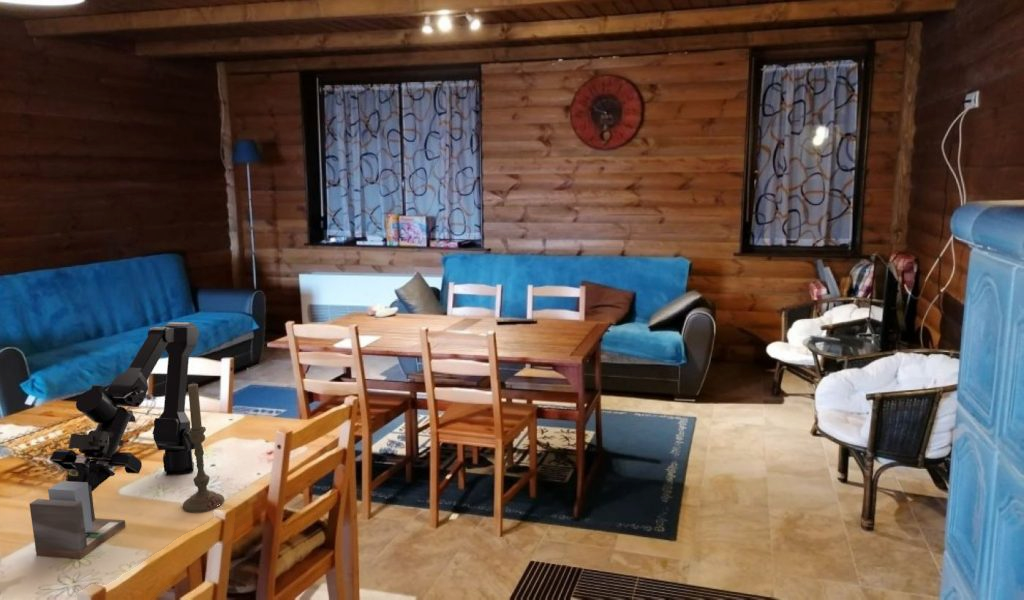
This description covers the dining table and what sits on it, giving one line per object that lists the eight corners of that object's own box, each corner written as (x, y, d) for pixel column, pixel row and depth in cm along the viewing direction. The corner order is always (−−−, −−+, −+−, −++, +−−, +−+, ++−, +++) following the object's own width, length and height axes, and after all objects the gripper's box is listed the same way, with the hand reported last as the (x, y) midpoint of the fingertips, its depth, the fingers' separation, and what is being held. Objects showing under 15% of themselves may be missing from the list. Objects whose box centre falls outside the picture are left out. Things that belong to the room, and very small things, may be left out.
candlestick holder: (198, 515, 168) (187, 389, 163) (174, 506, 173) (162, 383, 167) (232, 500, 176) (222, 379, 170) (208, 492, 180) (197, 374, 175)
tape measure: (94, 488, 184) (93, 474, 183) (63, 492, 182) (62, 478, 181) (101, 477, 190) (99, 464, 189) (71, 481, 188) (69, 467, 187)
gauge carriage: (69, 527, 159) (63, 479, 157) (106, 529, 158) (100, 481, 156) (53, 538, 155) (47, 488, 153) (91, 540, 153) (85, 491, 151)
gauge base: (84, 523, 165) (78, 475, 163) (125, 526, 163) (120, 477, 161) (36, 555, 151) (29, 503, 149) (80, 559, 150) (73, 506, 148)
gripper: (50, 414, 161) (16, 483, 153) (128, 417, 159) (98, 487, 150) (80, 436, 170) (50, 501, 162) (154, 439, 168) (127, 506, 159)
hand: (80, 498), depth 158 cm, fingers closed
